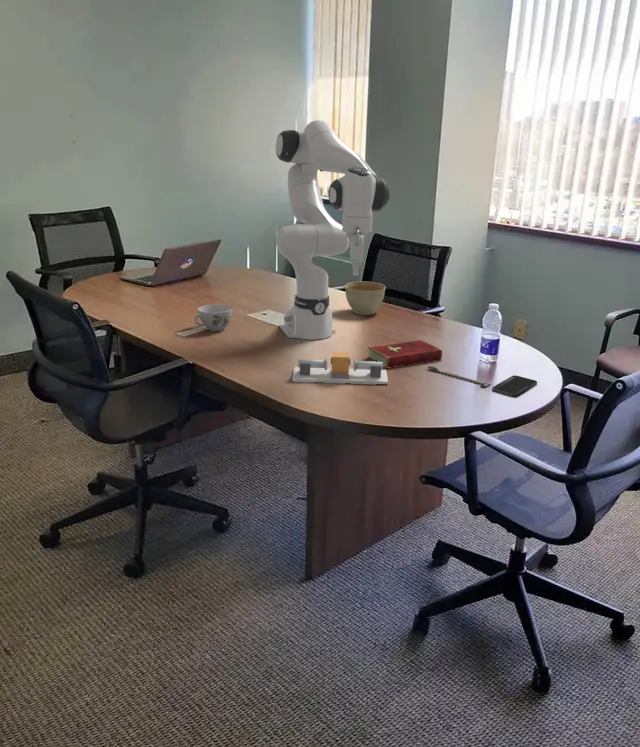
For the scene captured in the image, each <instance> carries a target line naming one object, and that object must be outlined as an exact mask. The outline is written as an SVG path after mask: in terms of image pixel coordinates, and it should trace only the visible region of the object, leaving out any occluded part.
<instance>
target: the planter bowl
mask: <svg viewBox="0 0 640 747" xmlns="http://www.w3.org/2000/svg"><path fill="white" fill-rule="evenodd" d="M344 288H345V298H346V300H347V303H348V305H349V306H350V308H351V309H352V313H354V314H355V315H356V314H357V315H361V316H370V315H374V314H376V312H377V310H378V309H379V307H380V306H381V305H382V303H383V301H384V297H385V294H386V293H385V291H386V285H385V284H383V283H380V282H375V281H374V282H373V281H362V280H360V281H352V282H351V281H350V282H348V283H346V284H345V285H344Z"/></svg>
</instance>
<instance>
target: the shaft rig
mask: <svg viewBox="0 0 640 747" xmlns="http://www.w3.org/2000/svg"><path fill="white" fill-rule="evenodd" d="M297 360H298V361H297V366H294V367H293V373H292V377H291V381H292V383H314V382H324V383H323V384H345V383H351V385H376V384H388V385H389V379H388V372H387V369H383V368H384V366H383V362H376V361H373V360H371V361H365V360H363V361H362V360H361V361H359V360H357V358H354V359H353V368H349V374H335V373H332V367H328V358H327V357H325V359H305V358H304V359H303V358H302V359H299V358H298V359H297ZM293 381H294V382H293Z"/></svg>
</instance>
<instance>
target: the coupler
mask: <svg viewBox="0 0 640 747" xmlns="http://www.w3.org/2000/svg"><path fill="white" fill-rule="evenodd" d="M330 365H331V368H332V373H335V374H349V369H350V366H351V358H350V352H332V355H331V358H330Z"/></svg>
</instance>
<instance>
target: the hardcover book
mask: <svg viewBox="0 0 640 747" xmlns="http://www.w3.org/2000/svg"><path fill="white" fill-rule="evenodd" d="M367 349H368V358H370V359H371V360H372V361H374V360H375V361H374V362H376V361H377V362H383V365H384V366H386V367H385V369H389V368H388V367H392V368H395V367H394V366H399V367H402V366H401V365H405V366H409V365H408V364H411V365H415V364H414V363H417V364H421V363H420V362H424V363H428V362H427V361H430V362H435V361H434V360H436V361H441V360H440V359H443V348H440V347H438V346H436V345H434V344H432V343H430V342H429V341H426V340H424V339H422V338H420V339H413V340H408V341H407V340H406V341H400V342H392V343H386V344H385V343H384V344H380V345H371V346H367ZM384 366H383V367H384Z"/></svg>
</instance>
